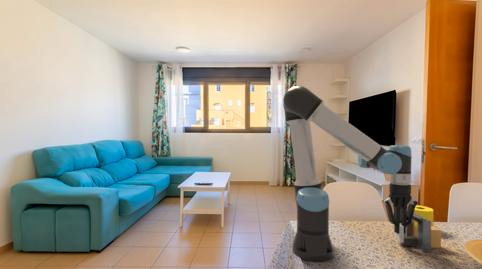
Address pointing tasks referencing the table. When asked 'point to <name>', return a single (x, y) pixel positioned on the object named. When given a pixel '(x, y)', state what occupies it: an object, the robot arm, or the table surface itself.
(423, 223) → the gray arch block
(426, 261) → the table surface
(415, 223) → the tape roll
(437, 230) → the plug
